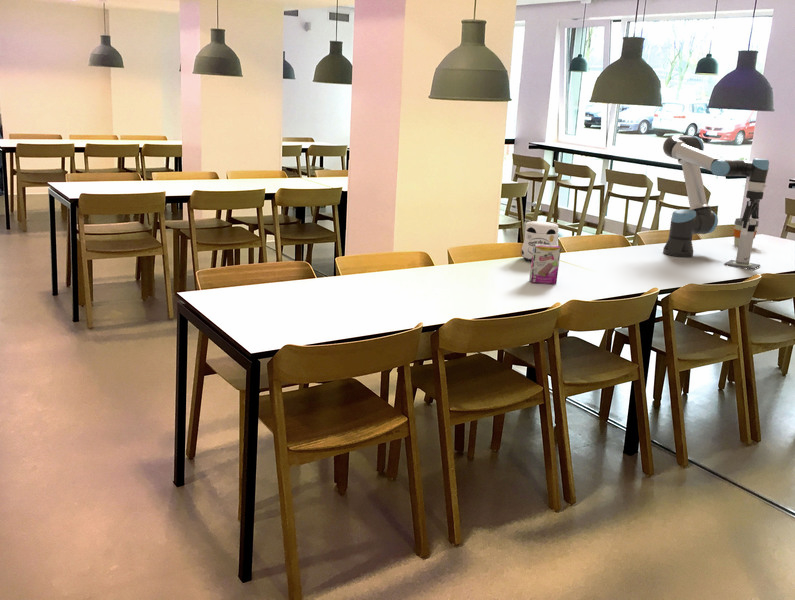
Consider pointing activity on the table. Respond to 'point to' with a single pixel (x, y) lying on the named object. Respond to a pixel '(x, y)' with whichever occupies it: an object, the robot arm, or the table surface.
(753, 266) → the pad
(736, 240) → the reusable coffee cup
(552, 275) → the candy bar box
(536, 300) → the table surface
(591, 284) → the table surface
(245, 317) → the table surface
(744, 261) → the travel mug
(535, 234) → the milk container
